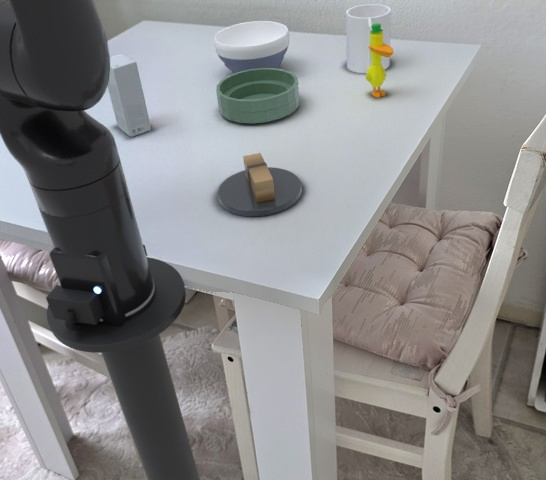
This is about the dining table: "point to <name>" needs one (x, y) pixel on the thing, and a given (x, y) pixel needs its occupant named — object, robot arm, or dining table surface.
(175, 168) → the dining table surface
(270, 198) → the clip
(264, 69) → the green bowl
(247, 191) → the plate
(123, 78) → the cosmetic box
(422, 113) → the dining table surface
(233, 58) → the bowl
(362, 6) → the cup
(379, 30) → the toy figure
